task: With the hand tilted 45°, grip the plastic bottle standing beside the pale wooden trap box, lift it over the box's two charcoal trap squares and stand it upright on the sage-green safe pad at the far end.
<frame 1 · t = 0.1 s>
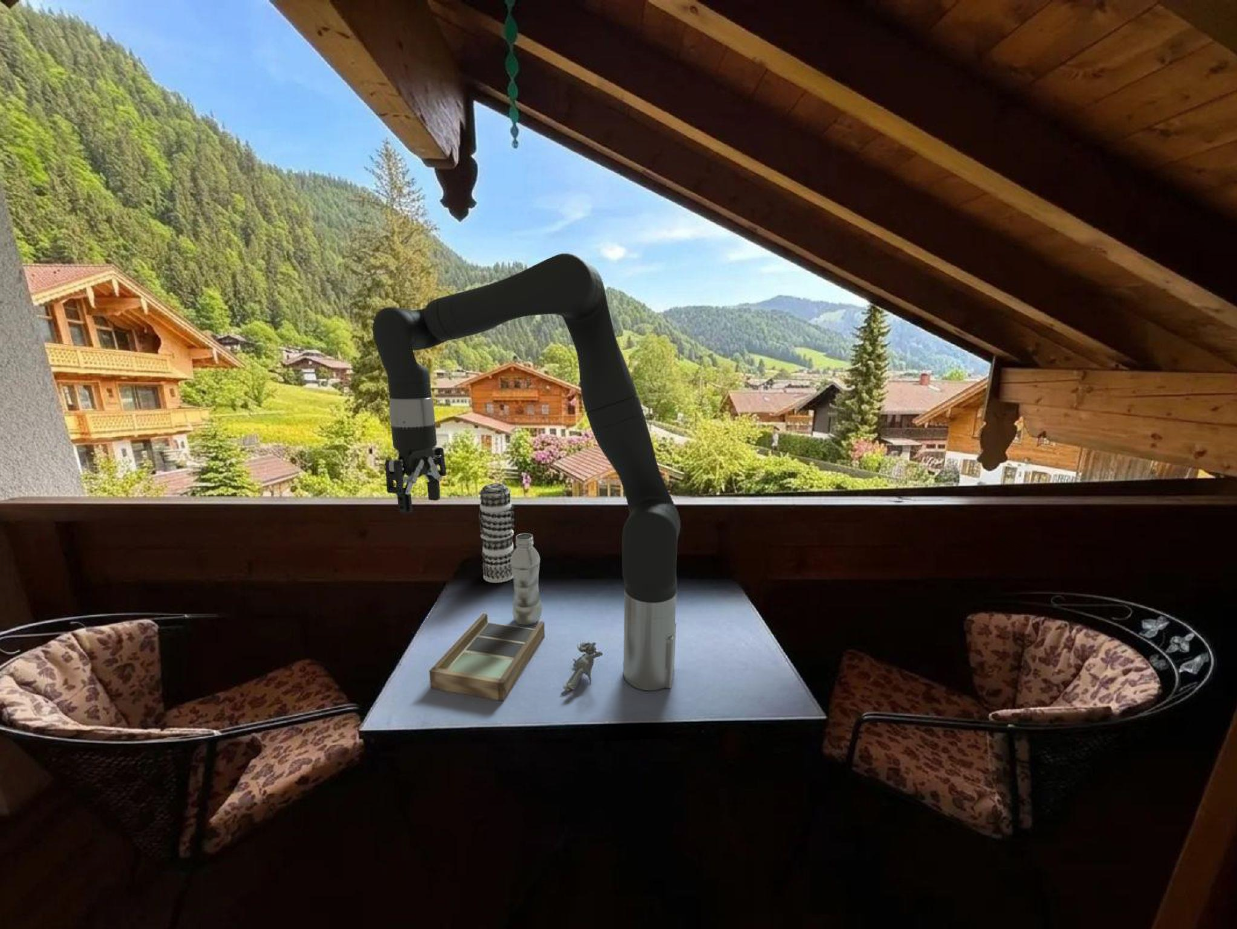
hand: (421, 506, 88), 29 cm above the table, tool pointing down, fingers open, 8 cm apart
trap box: (493, 658, 89), on the table
decorative candle: (499, 575, 123), on the table
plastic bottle: (527, 621, 103), on the table
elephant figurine: (585, 680, 84), on the table
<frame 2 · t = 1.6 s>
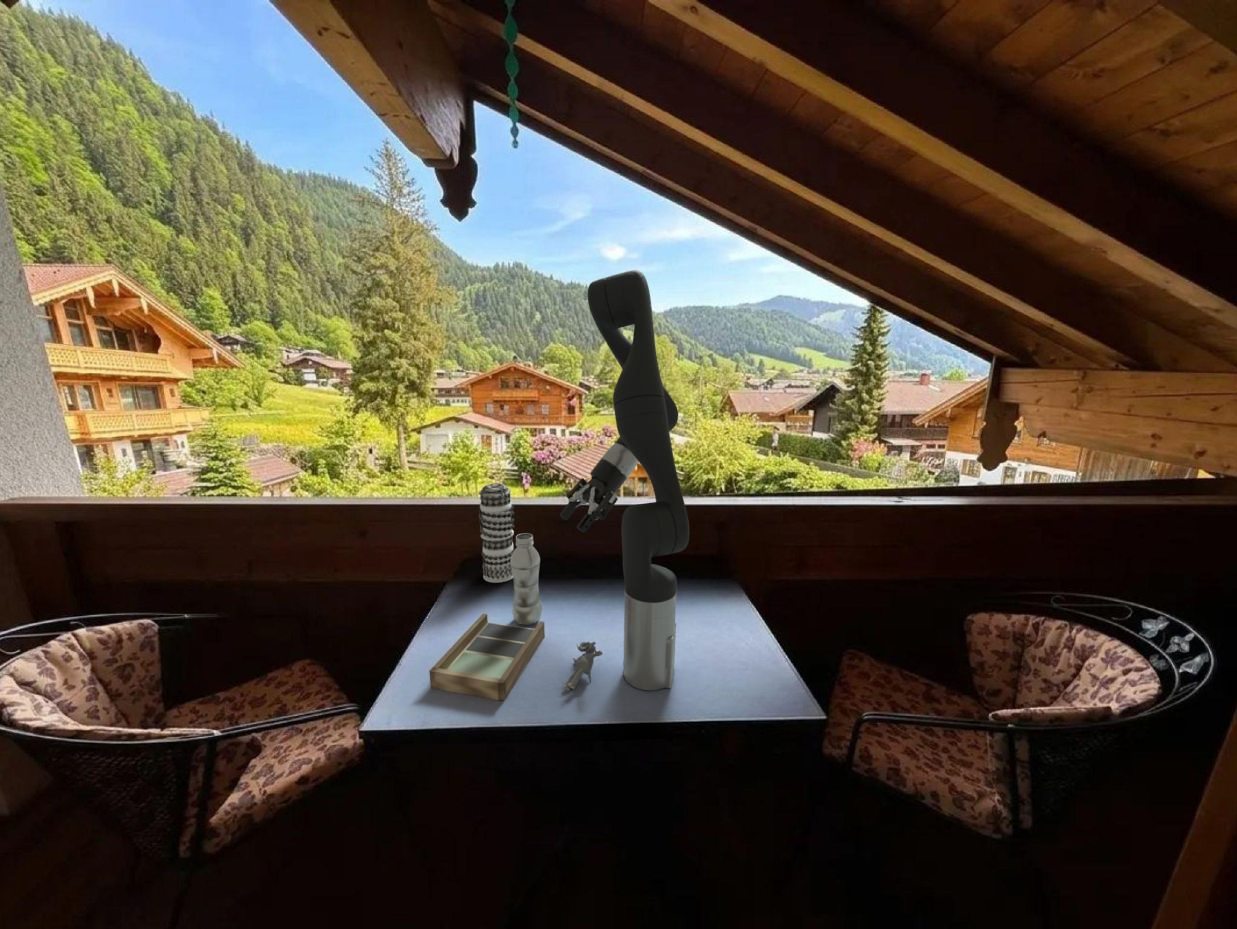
hand: (571, 524, 102), 21 cm above the table, tool tilted 45°, fingers open, 8 cm apart
nothing on the table moved.
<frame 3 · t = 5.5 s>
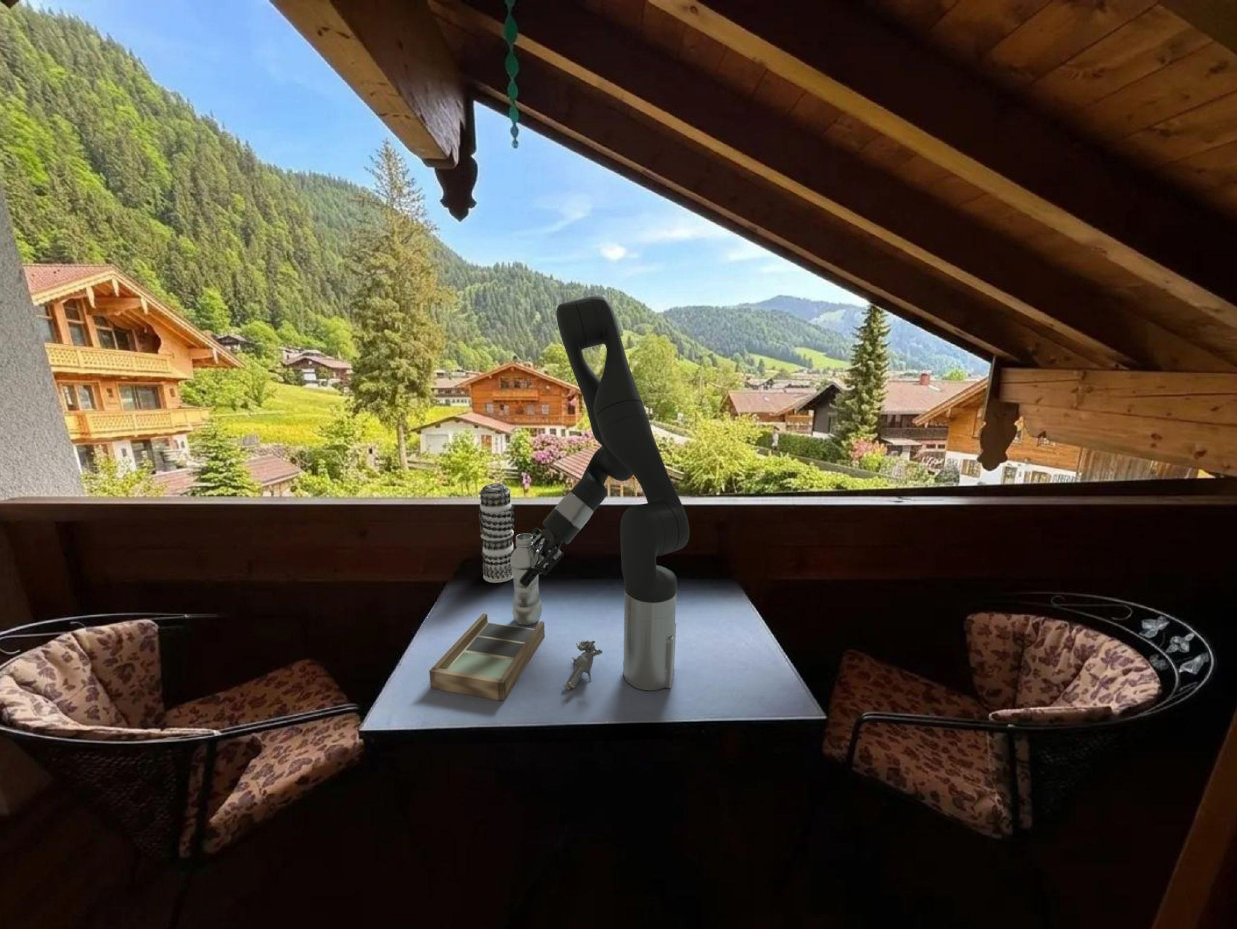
hand: (518, 577, 99), 11 cm above the table, tool tilted 45°, fingers closed on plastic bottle, 6 cm apart
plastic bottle: (527, 621, 103), on the table, touching gripper
everything else where it was.
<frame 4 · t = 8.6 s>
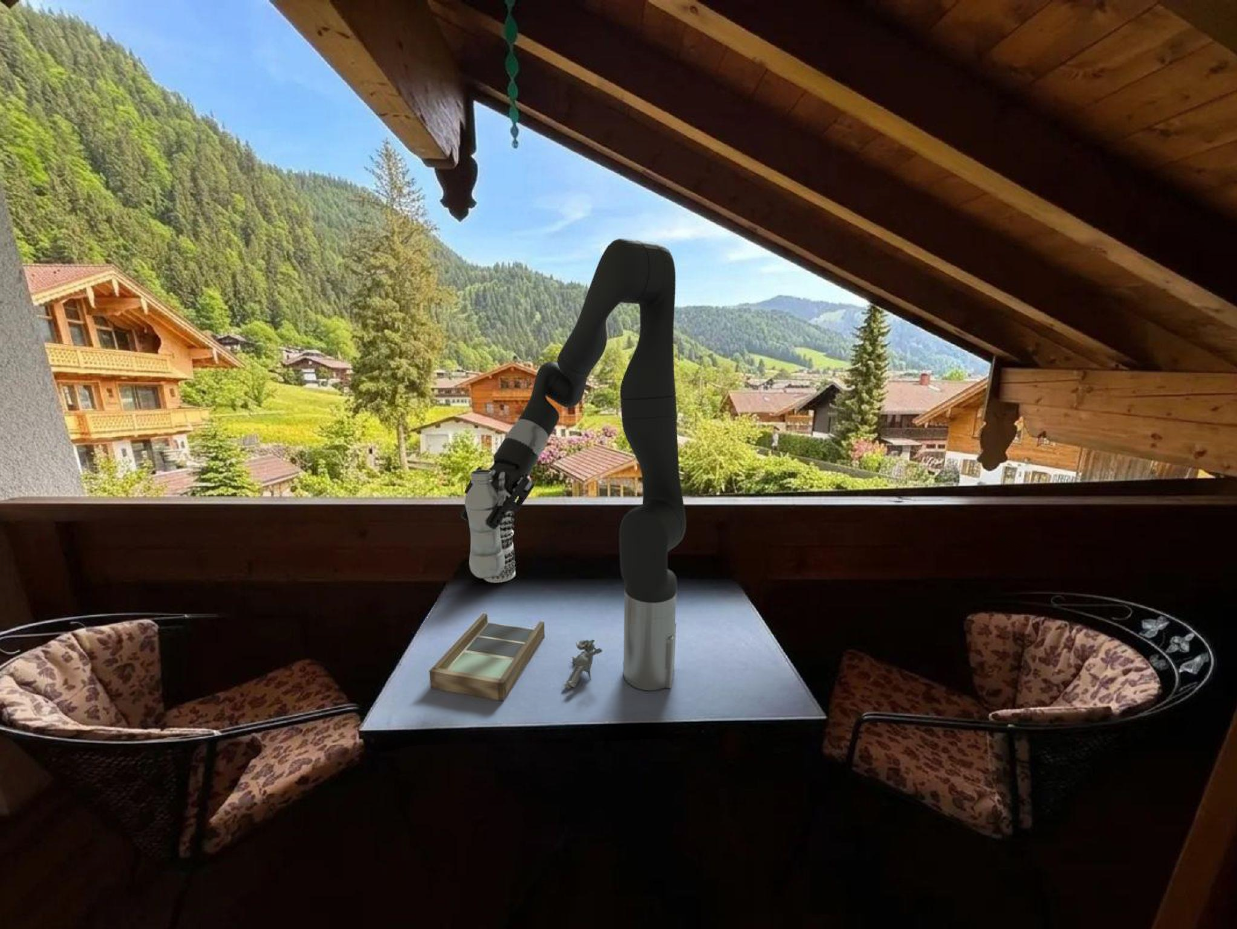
hand: (477, 522, 83), 28 cm above the table, tool tilted 45°, fingers closed on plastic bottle, 6 cm apart
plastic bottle: (488, 575, 87), point 17 cm above the table, touching gripper
everything else where it was.
when the fingers open (14 cm above the table, at t = 11.6 s): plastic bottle drops 1 cm, resting on trap box.
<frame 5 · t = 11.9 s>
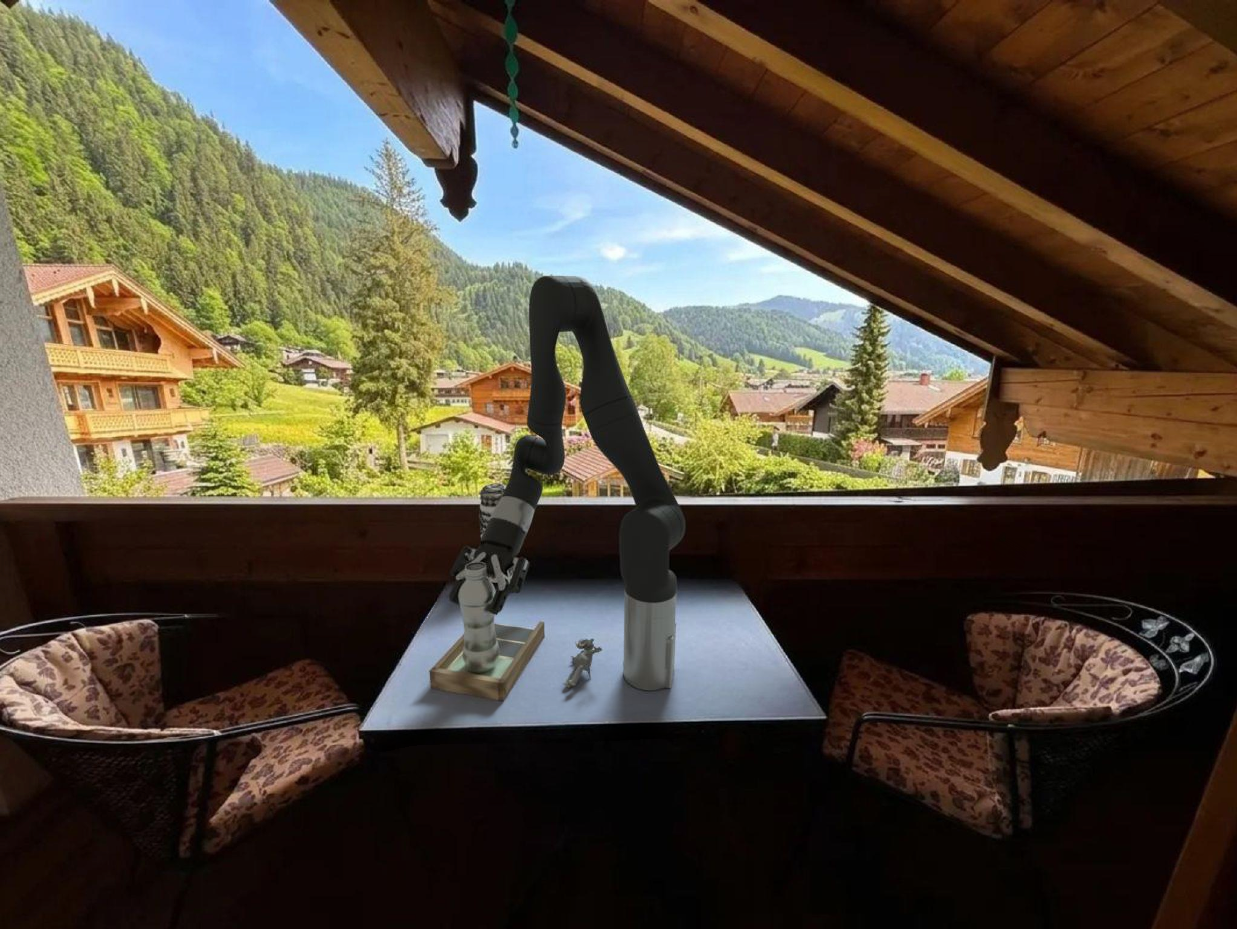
hand: (472, 608, 81), 14 cm above the table, tool tilted 45°, fingers open, 8 cm apart
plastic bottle: (482, 666, 85), point 1 cm above the table, touching trap box
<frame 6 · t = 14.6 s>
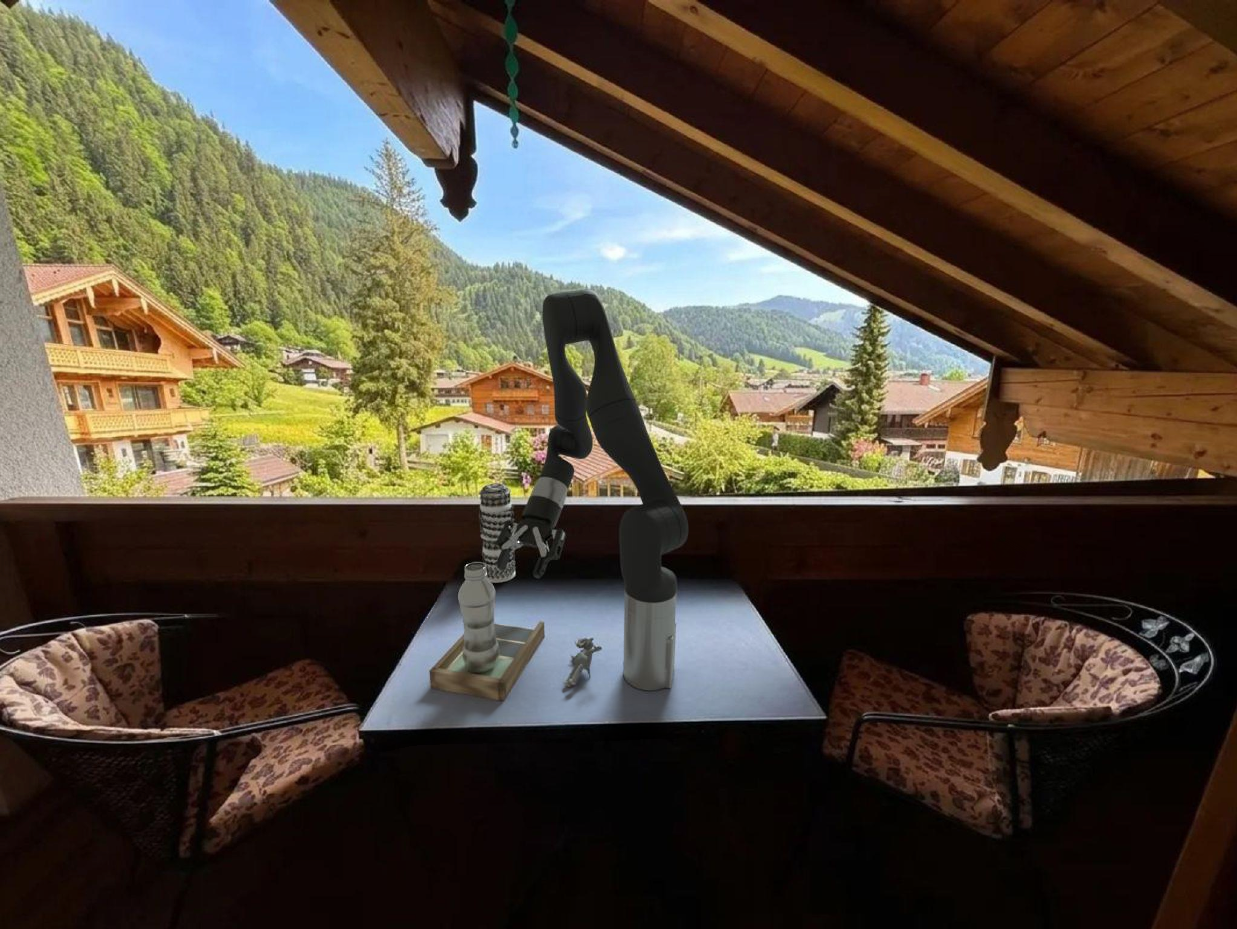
hand: (517, 572, 93), 15 cm above the table, tool tilted 45°, fingers open, 8 cm apart
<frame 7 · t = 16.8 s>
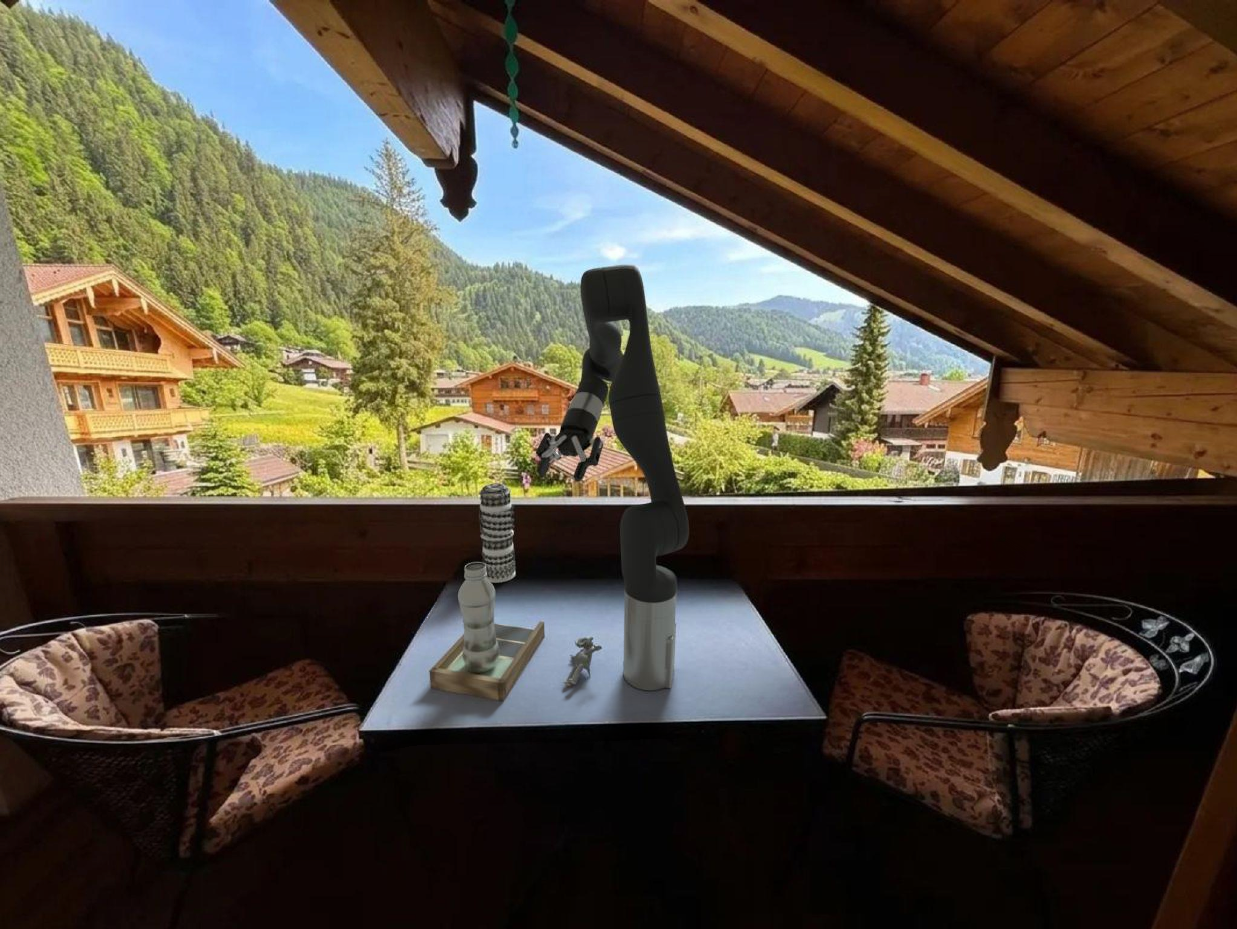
hand: (558, 477, 97), 33 cm above the table, tool tilted 45°, fingers open, 8 cm apart
at the end: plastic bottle inside the target area on the trap box (0.5 cm from its centre), point 1.4 cm above the trap box's base; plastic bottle tilted 0°; the gripper is holding nothing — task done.
